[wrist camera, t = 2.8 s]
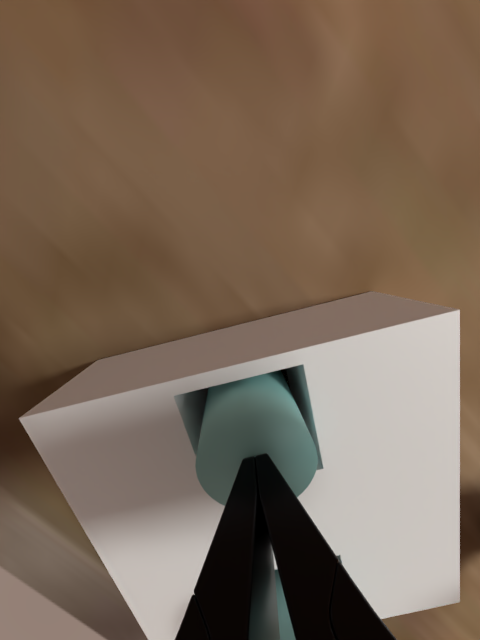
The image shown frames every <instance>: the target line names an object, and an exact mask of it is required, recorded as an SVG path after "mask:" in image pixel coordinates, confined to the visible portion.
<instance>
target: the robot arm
mask: <svg viewBox="0 0 480 640" xmlns="http://www.w3.org/2000/svg"><path fill="white" fill-rule="evenodd" d="M273 553H274V557H275V561H276V565H277V569H278V573H279V576H280V580H281V584H282V588H283V592H284V596H285V600H286V604H287V608H288V612H289V616H290V620H291V624H292V628H293V631H294V635H295V639H296V640H396V638H395V637H394V636H393V634H392V633H391V632H390V630H389V629H388V628H387V626H386V625H385V624H384V623H383V621H382V620H381V619H380V617H379V616H378V615H377V613H376V612H375V611H374V609H373V608H372V607H371V605H370V604H369V602H368V601H367V600H366V598H365V597H364V595H363V594H362V592H361V591H360V590H359V588H358V587H357V585H356V584H355V583H354V581H353V580H352V578H351V577H350V575H349V574H348V572H347V571H346V569H345V568H344V566H343V565H342V563H341V562H339V560H338V558H337V556H336V555H335V553H334V552H333V550H332V549H331V547H330V546H329V544H328V543H327V541H326V540H325V538H324V537H323V535H322V534H321V532H320V531H319V529H318V528H317V526H316V525H315V523H314V522H313V520H312V519H311V517H310V516H309V514H308V513H307V511H306V510H305V508H304V507H303V505H302V504H301V503H300V501H299V500H298V498H297V497H296V495H295V494H294V492H293V491H292V489H291V488H290V486H289V485H288V483H287V482H286V480H285V479H284V477H283V476H282V474H281V473H280V471H279V470H278V468H277V467H276V465H275V464H274V462H273V461H272V459H271V458H270V456H269V455H268V454H267V453H265V454H260V455H257V456H256V457H254V456H252V457H248V458H244V459H243V460H242V462H241V464H240V467H239V470H238V473H237V475H236V478H235V481H234V483H233V486H232V489H231V491H230V494H229V497H228V499H227V502H226V505H225V508H224V510H223V513H222V516H221V518H220V521H219V524H218V526H217V529H216V532H215V534H214V537H213V540H212V543H211V545H210V548H209V551H208V553H207V556H206V559H205V561H204V564H203V567H202V569H201V572H200V575H199V577H198V580H197V583H196V586H195V588H194V594H195V595H194V594H193V595H192V596H191V599H190V601H189V604H188V607H187V609H186V612H185V615H184V618H183V620H182V623H181V625H180V628H179V630H178V633H177V635H176V638H175V640H280V632H279V619H278V607H277V594H276V582H275V569H274V557H273Z"/></svg>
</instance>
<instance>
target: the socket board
mask: <svg viewBox="0 0 480 640" xmlns="http://www.w3.org/2000/svg"><path fill="white" fill-rule="evenodd" d="M282 369H286V373H287V377H288V382H289V386H290V391H291V393H292V395H293V398H294V400H295V402H296V404H297V406H298V409H299V411H300V413H301V415H302V417H303V420H304V422H305V424H306V426H307V428H308V430H309V433H310V435H311V437H312V439H313V441H314V444H315V446H316V450H317V456H318V462H317V469H316V472H315V475H314V477H313V479H312V481H311V483H310V484H309V486H308V487H307V488H306V489H305V490H304V492H303V493H302V494H300V495H299V496H298V497H297V498H298V500H299V501H300V503H301V504H302V505H303V507H304V508H305V510H306V511H307V513H308V514H309V516H310V517H311V519H312V520H313V522H314V523H315V525H316V526H317V528H318V529H319V531H320V532H321V534H322V535H323V537H324V538H325V540H326V541H327V543H328V544H329V546H330V547H331V549H332V550H333V552H334V553H335V555H336V556H337V558H338V560H339V562H341V563H342V565H343V566H344V568H345V569H346V571H347V572H348V574H349V575H350V577H351V578H352V580H353V581H354V583H355V584H356V585H357V587H358V588H359V590H360V591H361V592H362V594H363V595H364V597H365V598H366V600H367V601H368V602H369V604H370V605H371V607H372V608H373V609H374V611H375V612H376V613H377V615H378V616H379V617H380V619H383V618H388V617H393V616H397V615H402V614H407V613H411V612H416V611H421V610H425V609H430V608H435V607H439V606H444V605H449V604H453V603H458V602H460V310H459V309H454V308H450V307H445V306H440V305H435V304H431V303H426V302H421V301H416V300H412V299H407V298H402V297H398V296H393V295H388V294H383V293H379V292H374V291H371V292H367V293H363V294H359V295H355V296H351V297H347V298H343V299H339V300H335V301H331V302H327V303H323V304H319V305H315V306H311V307H307V308H303V309H299V310H295V311H291V312H287V313H283V314H279V315H275V316H271V317H267V318H263V319H259V320H255V321H251V322H247V323H243V324H239V325H235V326H231V327H228V328H224V329H220V330H216V331H212V332H208V333H204V334H200V335H196V336H192V337H188V338H184V339H180V340H176V341H172V342H168V343H164V344H160V345H156V346H152V347H148V348H144V349H140V350H136V351H132V352H128V353H124V354H120V355H116V356H112V357H108V358H104V359H100V360H97V361H96V362H94V363H93V364H92V365H90V366H89V367H87V368H86V369H85V370H83V371H82V372H81V373H79V374H78V375H77V376H75V377H74V378H73V379H71V380H70V381H69V382H67V383H66V384H64V385H63V386H62V387H60V388H59V389H58V390H56V391H55V392H54V393H52V394H51V395H50V396H48V397H47V398H46V399H44V400H43V401H41V402H40V403H39V404H37V405H36V406H35V407H33V408H32V409H31V410H29V411H28V412H27V413H25V414H24V415H23V416H21V417H20V418H19V420H20V422H21V423H22V425H23V427H24V428H25V430H26V432H27V433H28V435H29V437H30V439H31V440H32V442H33V444H34V445H35V447H36V449H37V451H38V452H39V454H40V456H41V457H42V459H43V461H44V463H45V464H46V466H47V468H48V469H49V471H50V473H51V474H52V476H53V478H54V480H55V481H56V483H57V485H58V486H59V488H60V490H61V492H62V493H63V495H64V497H65V498H66V500H67V502H68V503H69V505H70V507H71V509H72V510H73V512H74V514H75V515H76V517H77V519H78V521H79V522H80V524H81V526H82V527H83V529H84V531H85V533H86V534H87V536H88V538H89V539H90V541H91V543H92V544H93V546H94V548H95V550H96V551H97V553H98V555H99V556H100V558H101V560H102V562H103V563H104V565H105V567H106V568H107V570H108V572H109V573H110V575H111V577H112V579H113V580H114V582H115V584H116V585H117V587H118V589H119V591H120V592H121V594H122V596H123V597H124V599H125V601H126V603H127V604H128V606H129V608H130V609H131V611H132V613H133V614H134V616H135V618H136V620H137V621H138V623H139V625H140V626H141V628H142V630H143V632H144V633H145V635H146V637H147V638H148V640H175V638H176V635H177V633H178V630H179V628H180V625H181V623H182V620H183V618H184V615H185V612H186V609H187V607H188V604H189V601H190V599H191V596H192V595H193V594H194V588H195V586H196V583H197V580H198V577H199V575H200V572H201V569H202V567H203V564H204V561H205V559H206V556H207V553H208V551H209V548H210V545H211V543H212V540H213V537H214V534H215V532H216V529H217V526H218V524H219V521H220V518H221V516H222V513H223V510H224V508H225V506H224V505H222V504H220V503H218V502H217V501H215V500H214V499H212V498H211V497H210V496H209V495H208V494H207V493H206V492H205V491H204V489H203V488H202V486H201V485H200V482H199V480H198V478H197V474H196V467H195V464H196V455H197V450H198V444H199V439H200V433H201V427H202V422H203V416H204V410H205V405H206V399H207V394H208V387H212V386H216V385H220V384H224V383H229V382H233V381H237V380H241V379H245V378H249V377H253V376H257V375H261V374H265V373H269V372H274V371H278V370H282ZM273 557H274V553H273ZM274 569H277V565H276V561H275V557H274ZM194 595H195V594H194Z"/></svg>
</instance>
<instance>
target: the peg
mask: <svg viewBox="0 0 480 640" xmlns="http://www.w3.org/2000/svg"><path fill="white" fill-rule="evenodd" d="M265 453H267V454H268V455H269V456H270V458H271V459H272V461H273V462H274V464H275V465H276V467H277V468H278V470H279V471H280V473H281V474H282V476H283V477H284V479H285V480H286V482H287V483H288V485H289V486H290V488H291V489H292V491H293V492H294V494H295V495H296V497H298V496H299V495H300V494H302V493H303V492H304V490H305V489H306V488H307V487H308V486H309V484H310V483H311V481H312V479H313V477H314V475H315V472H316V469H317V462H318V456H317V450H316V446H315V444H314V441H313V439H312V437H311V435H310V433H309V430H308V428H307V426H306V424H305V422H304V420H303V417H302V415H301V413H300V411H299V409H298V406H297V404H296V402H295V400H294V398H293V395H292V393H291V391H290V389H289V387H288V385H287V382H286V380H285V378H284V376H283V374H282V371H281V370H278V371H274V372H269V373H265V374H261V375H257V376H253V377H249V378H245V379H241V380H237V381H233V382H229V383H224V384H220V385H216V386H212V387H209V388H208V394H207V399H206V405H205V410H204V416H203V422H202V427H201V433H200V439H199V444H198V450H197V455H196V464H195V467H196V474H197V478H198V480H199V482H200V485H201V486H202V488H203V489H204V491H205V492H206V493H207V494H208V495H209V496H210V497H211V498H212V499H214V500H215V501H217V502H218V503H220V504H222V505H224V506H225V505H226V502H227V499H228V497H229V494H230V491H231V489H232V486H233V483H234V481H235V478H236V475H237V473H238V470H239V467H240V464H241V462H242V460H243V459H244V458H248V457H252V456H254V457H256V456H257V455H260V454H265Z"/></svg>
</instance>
